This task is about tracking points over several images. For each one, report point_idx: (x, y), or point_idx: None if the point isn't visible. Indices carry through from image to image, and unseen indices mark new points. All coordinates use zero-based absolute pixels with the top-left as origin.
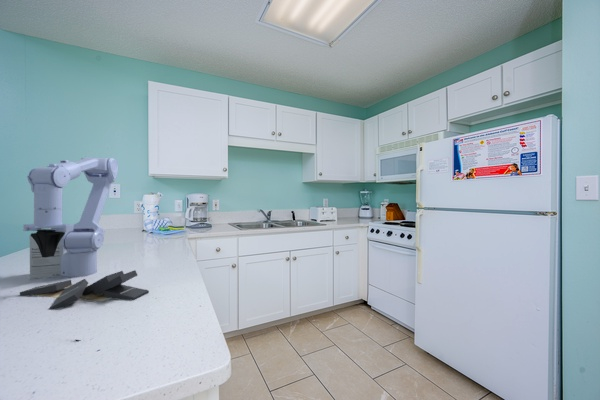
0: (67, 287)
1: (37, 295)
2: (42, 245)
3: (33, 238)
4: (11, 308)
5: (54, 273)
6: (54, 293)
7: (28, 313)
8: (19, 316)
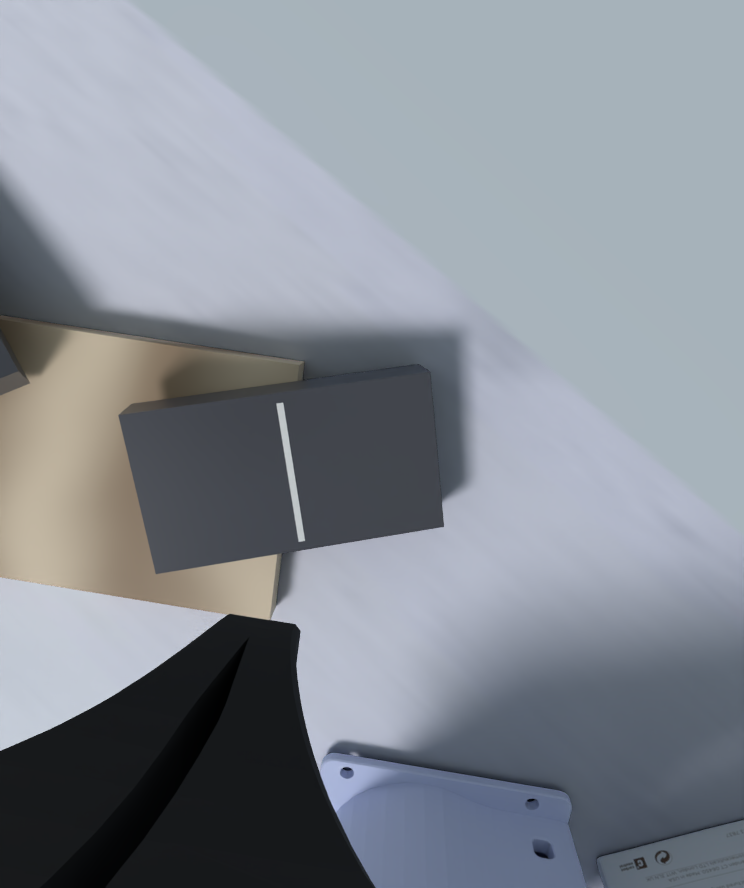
0: None
1: (279, 372)
2: (165, 714)
3: (350, 863)
4: (295, 188)
5: (662, 870)
6: None
7: (66, 103)
8: (74, 48)
